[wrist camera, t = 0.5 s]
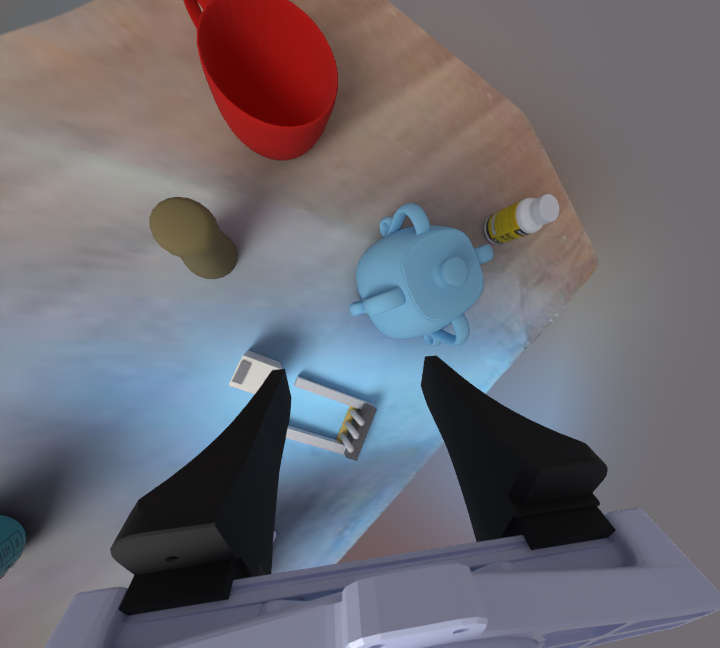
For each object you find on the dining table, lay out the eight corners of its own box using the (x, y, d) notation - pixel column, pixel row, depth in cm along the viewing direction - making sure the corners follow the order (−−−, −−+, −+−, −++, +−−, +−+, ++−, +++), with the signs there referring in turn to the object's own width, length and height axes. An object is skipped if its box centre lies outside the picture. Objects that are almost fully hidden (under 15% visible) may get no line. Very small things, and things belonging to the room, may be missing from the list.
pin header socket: (351, 453, 38) (361, 470, 33) (273, 430, 34) (273, 445, 30) (371, 403, 39) (383, 413, 34) (297, 375, 35) (300, 382, 31)
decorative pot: (418, 356, 41) (483, 371, 29) (330, 310, 37) (362, 303, 24) (455, 269, 44) (532, 247, 31) (378, 215, 39) (430, 162, 26)
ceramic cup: (241, 34, 33) (227, -84, 23) (340, 141, 37) (362, 79, 28) (164, 94, 30) (114, -11, 21) (280, 202, 34) (282, 156, 25)
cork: (240, 237, 33) (225, 197, 22) (233, 283, 33) (214, 264, 22) (186, 224, 31) (142, 174, 21) (178, 273, 31) (129, 248, 20)
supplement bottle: (484, 246, 46) (538, 226, 36) (481, 215, 45) (534, 187, 36) (507, 244, 47) (564, 225, 38) (504, 215, 47) (561, 188, 38)
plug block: (269, 387, 34) (268, 399, 29) (235, 375, 33) (228, 385, 27) (280, 362, 35) (282, 370, 29) (247, 350, 33) (242, 355, 28)
